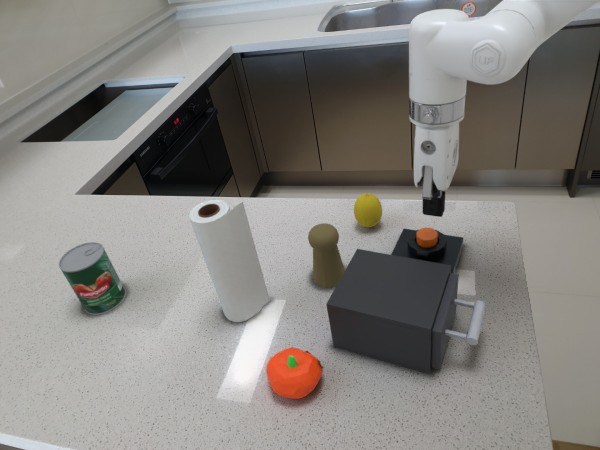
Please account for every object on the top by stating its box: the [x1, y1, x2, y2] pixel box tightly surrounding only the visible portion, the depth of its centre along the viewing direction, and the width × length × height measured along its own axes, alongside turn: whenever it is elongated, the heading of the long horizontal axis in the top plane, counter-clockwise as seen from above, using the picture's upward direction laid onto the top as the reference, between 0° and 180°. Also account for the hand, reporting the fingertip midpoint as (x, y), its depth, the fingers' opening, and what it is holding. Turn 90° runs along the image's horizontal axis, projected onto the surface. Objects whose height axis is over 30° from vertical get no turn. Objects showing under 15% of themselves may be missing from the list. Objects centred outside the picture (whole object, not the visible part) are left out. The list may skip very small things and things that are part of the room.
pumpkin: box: [265, 346, 324, 400], centre depth 64 cm, size 7×8×6 cm
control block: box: [390, 228, 464, 274], centre depth 82 cm, size 11×9×4 cm
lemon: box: [353, 192, 383, 228], centre depth 91 cm, size 6×6×8 cm
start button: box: [416, 227, 438, 248], centre depth 81 cm, size 4×4×2 cm
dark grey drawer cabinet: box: [326, 248, 451, 375], centre depth 69 cm, size 15×13×10 cm
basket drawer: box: [431, 273, 487, 371], centre depth 67 cm, size 18×11×8 cm, turn 64°
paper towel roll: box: [188, 199, 271, 323], centre depth 73 cm, size 7×6×21 cm
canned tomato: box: [58, 241, 127, 316], centre depth 84 cm, size 8×8×11 cm
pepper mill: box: [307, 223, 346, 289], centre depth 80 cm, size 6×6×11 cm
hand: (433, 212), depth 75 cm, fingers closed
